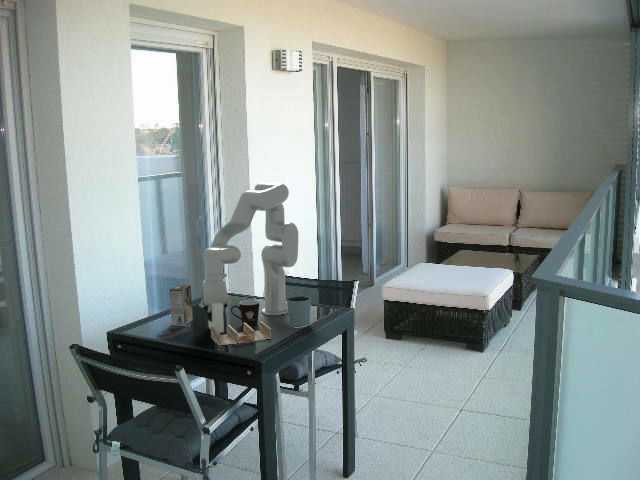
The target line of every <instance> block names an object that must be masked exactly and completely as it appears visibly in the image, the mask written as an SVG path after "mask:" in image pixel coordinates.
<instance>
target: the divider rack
mask: <svg viewBox="0 0 640 480" xmlns="http://www.w3.org/2000/svg"><path fill="white" fill-rule="evenodd" d="M258 324H259V330H254V329H253V327H250V326H249V325H247V324H246V323H243V324H242V326H243V325H244V326H243V332H238V331H237V330H236V329H235V328H233V327H232V325H231V324H227V325H226V326H227V329H226V331H227V333H226V334H221V333H219V332H218V331H217V330H216V329H215V328H214V327H213V326H212V327H211V329H210V338H211V339H212V341H214V343H215V344H216V343H217V344H218V345H219V346H218V345H217V346H218V347H221V346H220V345H227V346H229V345H228V344H235V345H241V344H240V343H246V342H253V341H256V340H263V339H270V338H271V339H272V328H271V327H270V326H269V325H267V324H266V323H265V322H264V321H262V320H258ZM237 343H239V344H237ZM253 343H254V342H253ZM246 344H247V343H246Z"/></svg>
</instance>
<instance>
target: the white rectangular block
mask: <svg viewBox="0 0 640 480" xmlns="http://www.w3.org/2000/svg"><path fill="white" fill-rule="evenodd" d="M211 313H212V322H210V321H209V319H208V318H207V320H208V321H207V322H208V329H209V330H211V327H212V326H213V327H214V328H215V329H216V330H217V331H218V332H219V333H220V334H221V333H224V331H225V329H224V328H225V327H224V318H223V304H222V303H213V304H212V305H211Z"/></svg>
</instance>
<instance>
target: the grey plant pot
mask: <svg viewBox="0 0 640 480" xmlns="http://www.w3.org/2000/svg"><path fill="white" fill-rule="evenodd" d="M286 302H287V304H288V311H289V312H288V313H287V314H288V322H289V327H290V326H293V327H301V326H306V325H309V324H310V325H311V323H310V322H311V317H310V315H311V304H312V303H311V302H312V298H311V297H310V296H307V295H293V296H289V297H288V298H286ZM310 325H309V326H310Z"/></svg>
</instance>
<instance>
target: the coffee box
mask: <svg viewBox="0 0 640 480" xmlns="http://www.w3.org/2000/svg"><path fill="white" fill-rule="evenodd" d="M169 301H170V322H171V326H176V327H177V326H179V327H184V326H187V325H188V324H190V323H191V322H193V303H192V302H193V301H192V285H186V284H185V285H184V284H183V285H182V284H181V285H180V284H179V285H176V286H173V287H171V288H170V289H169Z"/></svg>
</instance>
